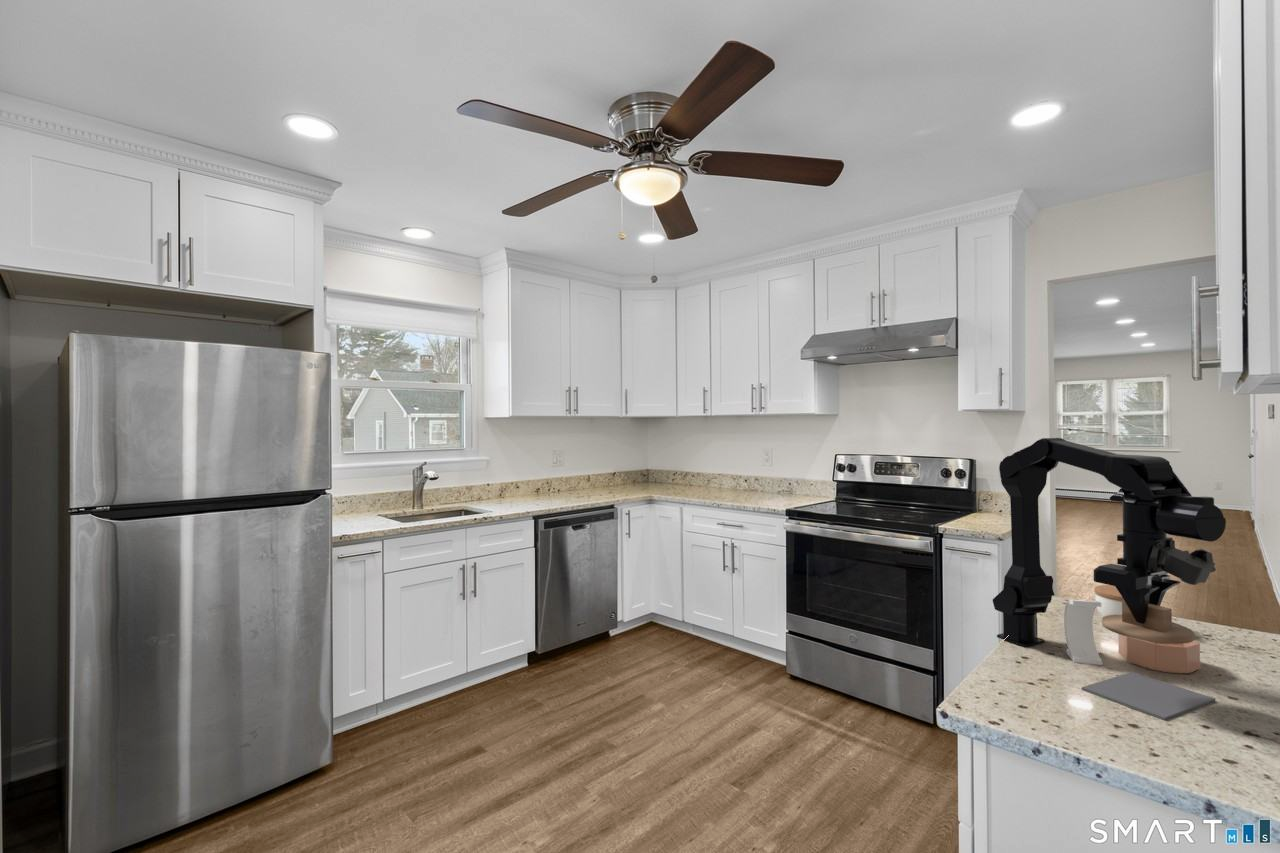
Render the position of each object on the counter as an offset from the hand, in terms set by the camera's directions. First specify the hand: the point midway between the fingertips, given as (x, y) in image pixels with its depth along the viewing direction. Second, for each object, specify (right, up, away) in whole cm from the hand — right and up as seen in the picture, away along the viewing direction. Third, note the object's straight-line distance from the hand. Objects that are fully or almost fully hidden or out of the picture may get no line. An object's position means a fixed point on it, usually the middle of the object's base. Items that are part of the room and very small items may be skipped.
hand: (1145, 621), depth 102 cm
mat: (0, -13, 0) cm, 13 cm away
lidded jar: (+24, -12, +34) cm, 44 cm away
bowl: (+14, -12, +14) cm, 23 cm away
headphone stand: (+1, -13, +16) cm, 21 cm away
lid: (0, -2, 0) cm, 2 cm away
